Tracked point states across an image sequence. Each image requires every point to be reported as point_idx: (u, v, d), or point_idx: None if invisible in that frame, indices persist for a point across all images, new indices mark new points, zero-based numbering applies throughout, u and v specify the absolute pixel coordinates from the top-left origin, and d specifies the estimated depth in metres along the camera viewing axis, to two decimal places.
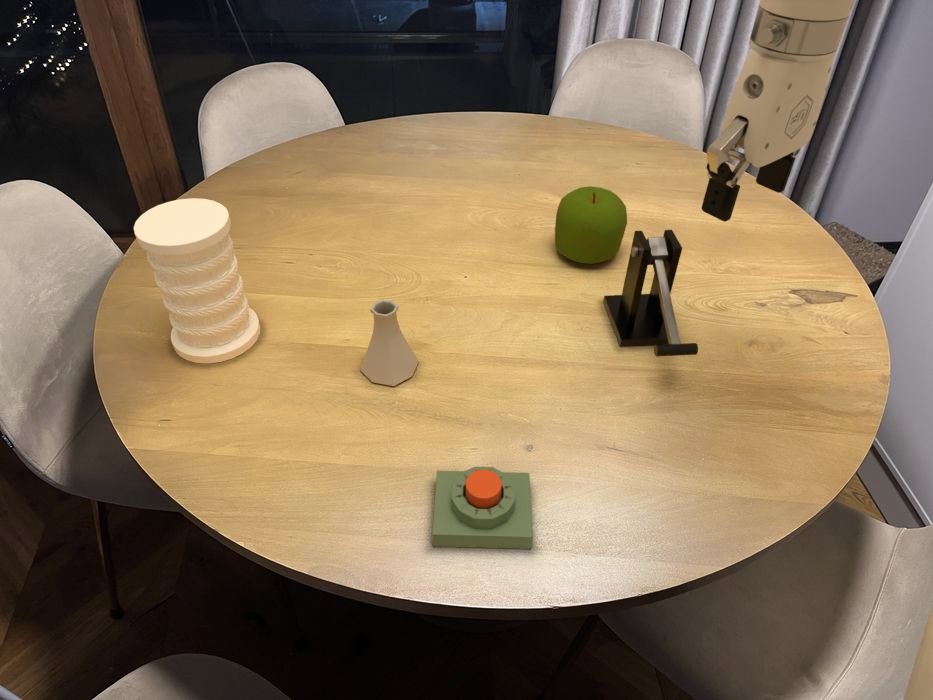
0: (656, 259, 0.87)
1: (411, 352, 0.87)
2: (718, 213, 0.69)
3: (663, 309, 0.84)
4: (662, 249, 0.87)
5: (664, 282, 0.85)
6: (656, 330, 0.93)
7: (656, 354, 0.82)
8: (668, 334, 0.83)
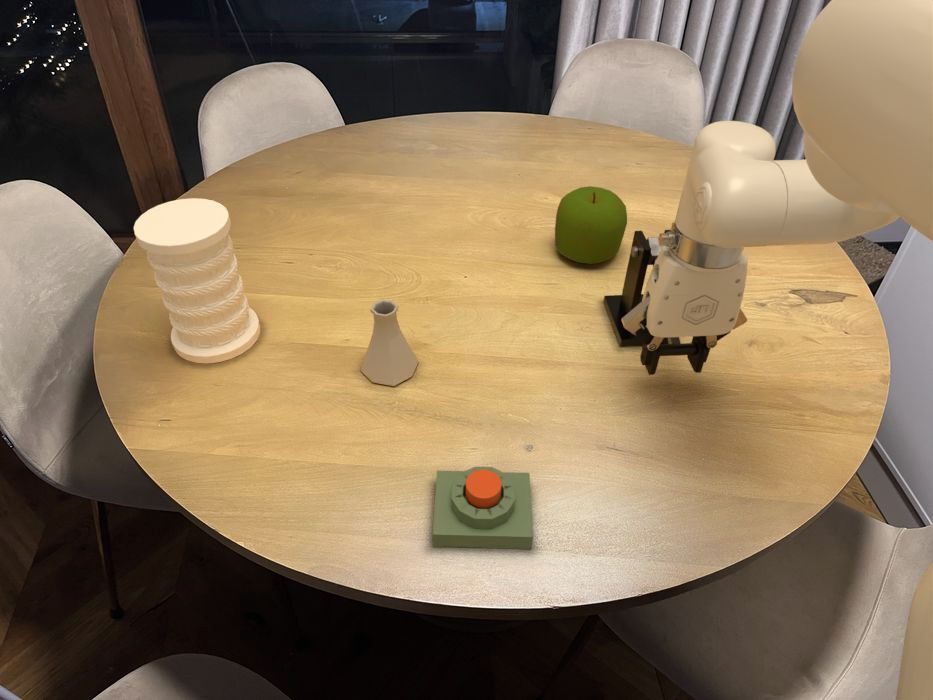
0: None
1: (411, 352, 0.87)
2: (647, 366, 0.83)
3: None
4: None
5: None
6: None
7: None
8: None
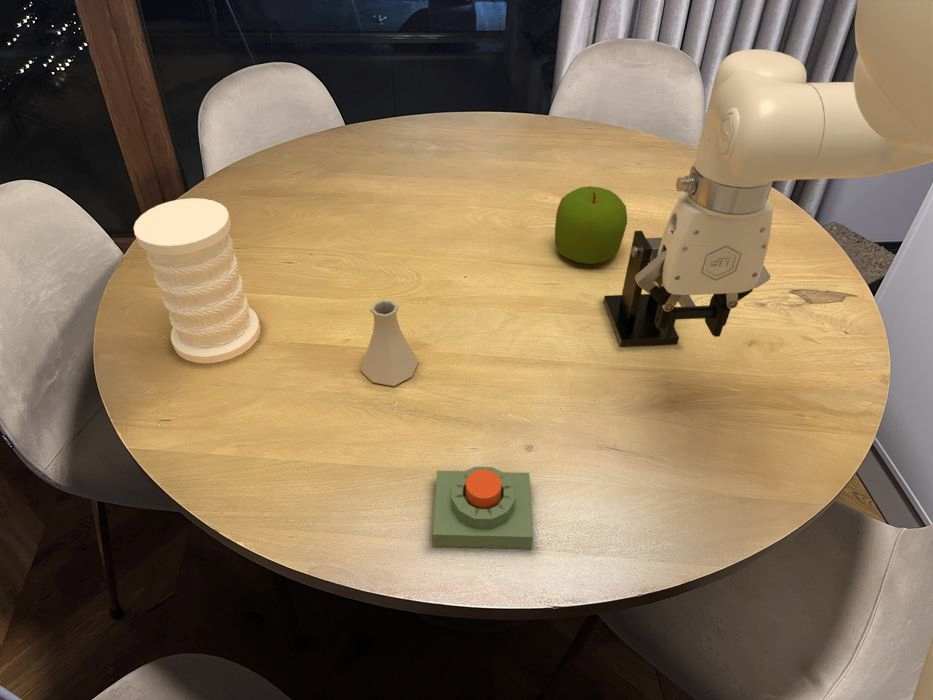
0: (657, 253, 0.86)
1: (411, 352, 0.87)
2: (662, 330, 0.78)
3: None
4: None
5: None
6: (656, 330, 0.93)
7: None
8: (681, 301, 0.78)
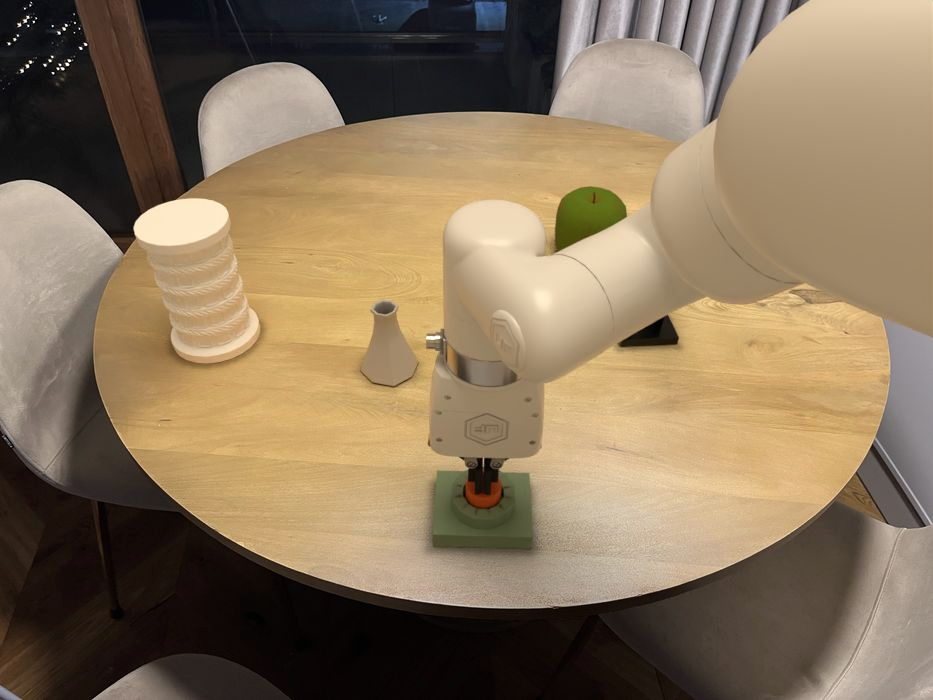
0: None
1: (411, 352, 0.87)
2: None
3: None
4: None
5: None
6: (656, 330, 0.93)
7: None
8: None
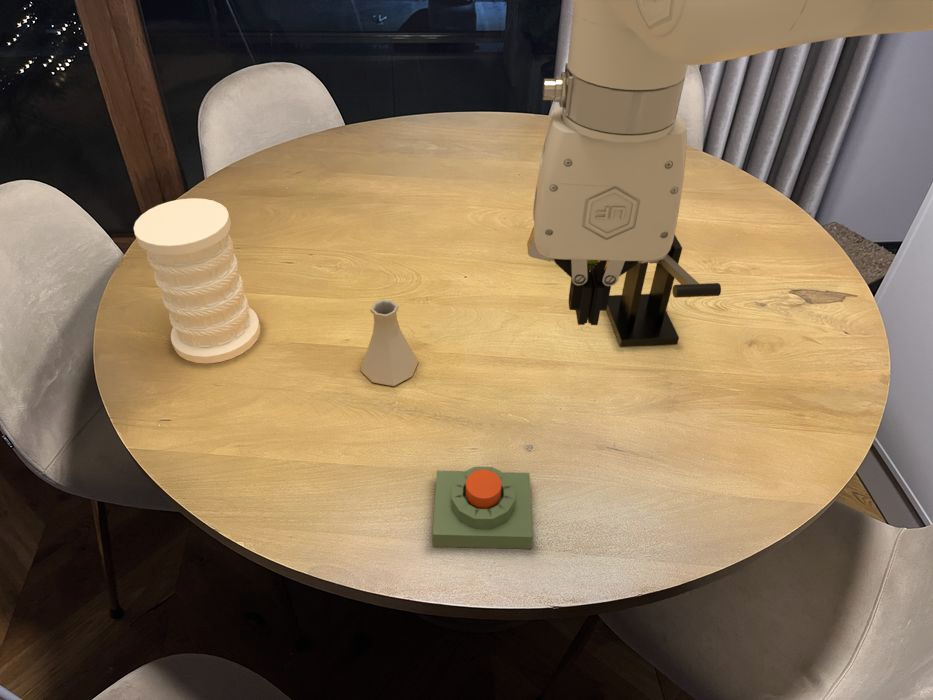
0: None
1: (411, 352, 0.87)
2: (577, 312, 0.56)
3: (674, 272, 0.80)
4: None
5: (670, 259, 0.83)
6: (656, 330, 0.93)
7: (676, 293, 0.75)
8: (685, 283, 0.77)
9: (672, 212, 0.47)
